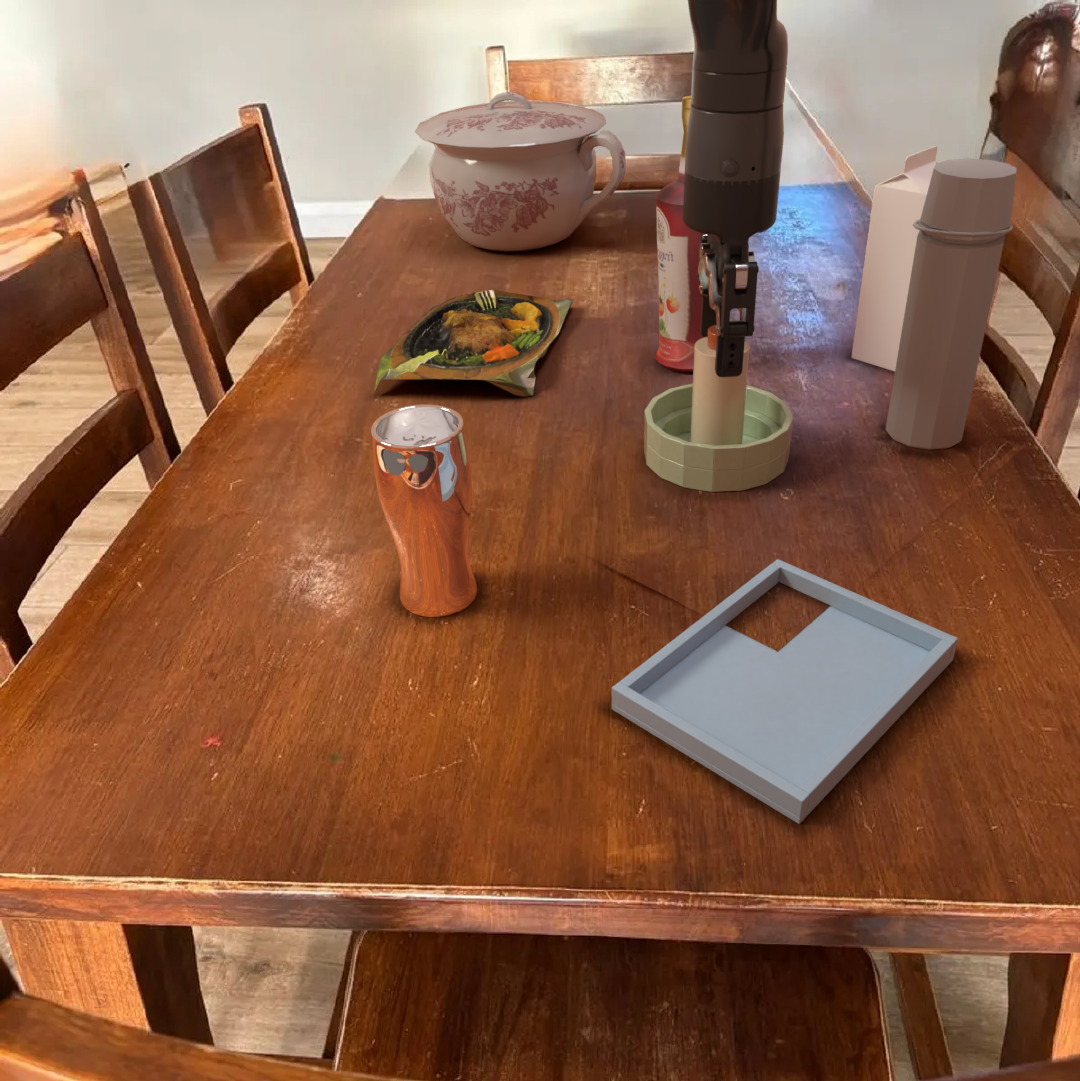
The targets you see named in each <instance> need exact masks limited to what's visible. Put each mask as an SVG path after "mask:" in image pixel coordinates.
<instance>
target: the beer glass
mask: <svg viewBox="0 0 1080 1081" xmlns="http://www.w3.org/2000/svg"><path fill="white" fill-rule="evenodd" d="M370 435H371V443H372V444H371V445H372V459H373V460H372V461H373V469H374V470H373V472H374V480H375V485H376V491H377V496H378V500H379V503H380V507H381V510H382V513H383V516H384V519H385V521H386V524H387V527H388V530H389V532H390V535H391V537H392V540H393V543H394V546H395V548H396V552H397V554H398V560H399V565H400V579H399V580H400V581H399V600H400V602H401V605H402V606H403V607H404V609H406V610H407V611H408V612H410V613H412V614H413V615H416V616H420V617H425V618H443V617H447V616H451V615H455V614H457V613H459V612H462V611H463V610H465V609H466V608H467V607H469V606H470V605H471V604H472V603H473V602H474V601H475V598H476V596H477V593H478V586H477V581H476V578H475V575H474V572H473V569H472V566H471V562H470V557H469V533H470V525H471V514H472V504H473V503H472V502H473V478H472V476H473V475H472V466H471V459H470V452H469V447H468V442H467V436H466V432H465V424H464V419H463V417H462V415H461V414H460V413H459V412H458V411H456V410H454V409H453V408H450V407H447V406H443V405H437V404H412V405H407V406H402V407H398V408H395V409H392V410H389V411H388V412H386V413H383V414H382V415H380V416H379V417H378V418H377V419H376V420H375V421H374V422H373V423H372V425H371V427H370Z"/></svg>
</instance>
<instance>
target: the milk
mask: <svg viewBox="0 0 1080 1081" xmlns="http://www.w3.org/2000/svg"><path fill="white" fill-rule="evenodd" d="M937 153H938V146H937V145H934V146H931V147H929V148H926V149H923V150H920V151H918V152H915V153H912V154H910V155H908V156H907V157H905V160H904V165H903V171H902V173H900V174H898V175H895V176H893V177H891V178H889V179H886V180H884V181H882V182H880V183H878V184H876V185H874V188H873V196H872V202H871V203H872V204H871V211H870V218H869V225H868V233H867V241H866V246H865V247H866V248H865V253H864V254H865V256H864V263H863V268H862V269H863V270H862V275H861V283H860V291H859V298H858V307H857V313H856V320H855V327H854V334H853V342H852V350H851V359H853V360H855V361H856V360H857V361H860V362H863V363H866V364H869V365H871V366H876V367H879V368H882V369H886V370H889V371H892V372H894V373H895V369H896V363H897V357H898V350H899V344H900V338H901V332H902V326H903V320H904V314H905V308H906V302H907V296H908V290H909V284H910V278H911V272H912V265H913V259H914V253H915V247H916V241H917V236H918V233H919V231H920V230H918V229H915V227H914V226H913V223H914V222H915V221H916V220H919V219H920V218H921V215H922V211H923V207H924V203H925V200H926V196H927V192H928V188H929V184H930V181H931V177H932V173H933V169H934V167H935V165H936V163H938V162H937V161H936V160H937ZM917 225H918V224H917Z"/></svg>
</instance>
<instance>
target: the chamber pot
mask: <svg viewBox="0 0 1080 1081" xmlns="http://www.w3.org/2000/svg"><path fill="white" fill-rule="evenodd" d="M606 125H607V120H606V117H605V115H604V114H602V113H601V112H600V111H597V110H595V109H593V108H589V107H586V106H582V105H578V104H572V103H569V102H559V101H551V100H550V101H548V100H531V99H530V100H528V99H527V98H526V97H525V96H523V95H521V94H519V93H517V92H511V91H504V92H500V93H497V94H496V95H494V96H493V98H491V99H490V101H489V102H483V103H477V104H473V105H472V104H471V105H466V106H460V107H456V108H452V109H449V110H446V111H442V112H440V113H438V114H436V115H433V116H430V117H428V118H426V119H424V120H422V121H420V122H419V123H418V125H417V126H416V128H415V130H414V133H415V134H416V135H417V136H418V138H420V139H421V140H422V141H424V142H428V143H430V144H433V146H434V148H435V149H434V151H433V153H432V156H431V159H430V160H429V163H428V172H429V182H430V186H431V189H432V192H433V195H434V199H435V202H436V206H437V209H438V210H439V211H440V213H441V214H442V216H443V217H444V218H445V220H446V222H447V223H448V224H449V225H450V227H451V228H452V230H453V231H454V232H455V233H456V235H457V236H458V237H459V238H460V239H461V240H462V241H463V242H464V243H466V244H468V245H470V246H473V247H476V248H480V249H484V250H488V251H494V252H502V253H503V252H504V253H519V252H520V253H521V252H529V251H530V252H531V251H536V250H541V249H543V248H547V247H550V246H552V245H555V244H557V243H560V242H562V241H564V240H567V239H568V238H569V237H570V236H571V235H572V234H573V233H574V232H575V230H577V228H578V227H579V226H581V224H582V223H583V221H584V220H585V219H586V217H587V216H588V215H589V214H590V213H591V212H592V210H594V209H595V207H596V206H597V205H600V204H601V203H602V202H604V201H605V200H606V199H608V198H610V197H611V196H612V195H614V193H615V191H616V190H617V189H618V187H619V186H620V185H621V183H622V182H623V181H624V178H625V175H626V170H627V160H626V151H625V149H624V146H623V144H622V142H621V140H620V139H619V138H618V137H617V136H616V135H615V134H614V133H613V132H612V131H610V130H609V129H602V128H604V127H605V126H606ZM601 129H602V130H601ZM600 130H601V131H600ZM597 132H599V133H597ZM598 147H601V148H602V147H603V148H606V150H609V153H610V156H611V162H612V163H611V165H612V171H611V175H610V178H609V181H608V182H607V183H606V185H605V186H604V187H603V188H602V190H601V191H600V192H599V193H597V194H594V190H595V185H596V179H597V154H596V150H595V148H598Z"/></svg>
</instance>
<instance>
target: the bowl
mask: <svg viewBox="0 0 1080 1081" xmlns="http://www.w3.org/2000/svg"><path fill="white" fill-rule="evenodd" d="M692 390H693V382H692V383H688V384H683V385H680V386H676V387H671V388H669V389H667V390H664V391H663V392H661V393H659V394H657V395H655V396H653V397H652V399H651V400H650V401H649V403H648V404H647V406H646V407H645V409H644V412H643V413H644V414H643V415H644V416H643V418H644V419H643V420H644V421H643V454H644V460H645V464H646V466H647V467H648V468H649V469H651V471H652V472H653V473H655V474H656V475H657V476H658V477H659V478H661V479H663V480H665V481H668V482H670V483H672V484H674V485H677V486H680V487H682V488H683V489H684V488H685V489H690V490H697V491H703V492H710V493H720V492H721V493H722V492H741V491H747V490H750V489H753V488H757V487H760V486H764V485H767V484H768V483H770V482H771V481H773V480H774V479H777V477H779V476H780V475H781V474H783V473H784V472H785V470H786V467H787V465H788V462H789V460H790V453H791V452H790V451H791V445H792V444H791V443H792V434H793V433H792V432H793V425H794V424H793V423H794V415H793V413H792V411H791V409H790V407H789V405H788V403H787V402H785V401H784V400H783V399H781V398H779V397H778V396H776V395H775V394H774V393H772V392H771V391H768V390H764V389H761V388H758V387H755V386H752V385H749V384H747V390H746V404H745V417H744V430H743V443H742V444H739V445H717V446H715V445H708V444H701V443H694V442H690V436H691V413H692Z"/></svg>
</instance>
